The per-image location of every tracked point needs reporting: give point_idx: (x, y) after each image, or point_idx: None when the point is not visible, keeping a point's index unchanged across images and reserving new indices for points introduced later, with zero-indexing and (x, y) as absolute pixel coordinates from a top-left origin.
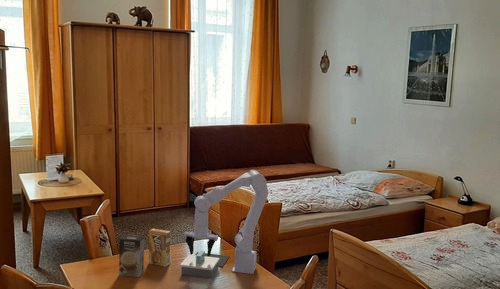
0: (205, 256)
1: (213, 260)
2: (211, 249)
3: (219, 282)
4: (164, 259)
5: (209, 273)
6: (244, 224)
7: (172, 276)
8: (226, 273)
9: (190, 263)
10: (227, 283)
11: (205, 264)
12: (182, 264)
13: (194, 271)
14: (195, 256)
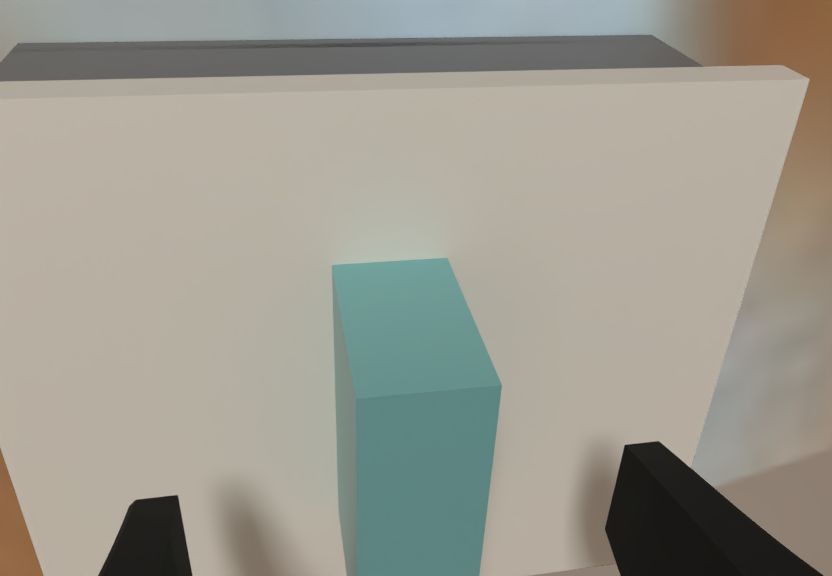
0: (426, 97)
1: (665, 268)
2: (774, 555)
3: (696, 453)
4: None
5: None
6: None
7: (12, 532)
8: (798, 178)
9: (233, 541)
10: (792, 441)
11: (529, 478)
12: None
13: None
14: (155, 191)
